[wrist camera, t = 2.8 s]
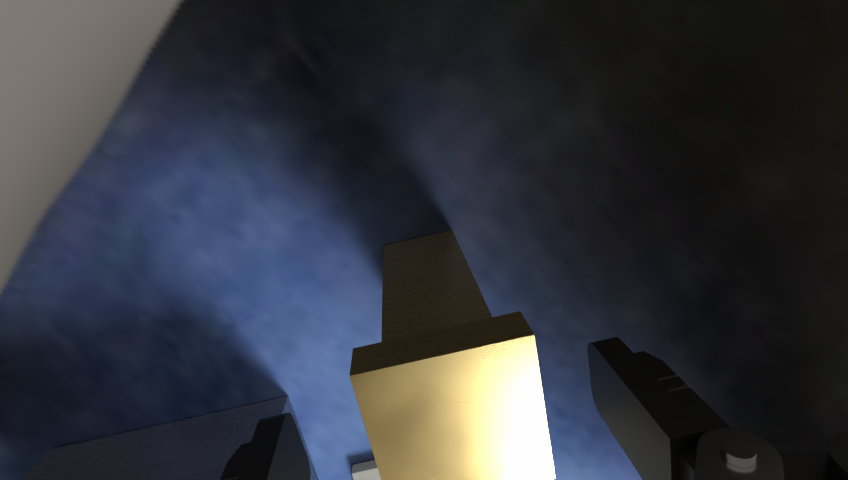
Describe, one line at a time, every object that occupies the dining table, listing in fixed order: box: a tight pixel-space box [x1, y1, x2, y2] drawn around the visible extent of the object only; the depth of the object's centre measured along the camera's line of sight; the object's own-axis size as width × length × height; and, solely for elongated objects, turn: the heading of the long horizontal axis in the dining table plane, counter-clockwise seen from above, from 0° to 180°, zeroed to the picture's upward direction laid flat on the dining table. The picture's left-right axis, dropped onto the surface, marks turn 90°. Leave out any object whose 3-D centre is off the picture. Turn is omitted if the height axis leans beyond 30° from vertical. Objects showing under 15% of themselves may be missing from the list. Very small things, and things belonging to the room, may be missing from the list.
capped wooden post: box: [350, 230, 555, 480], centre depth 17 cm, size 4×4×11 cm
